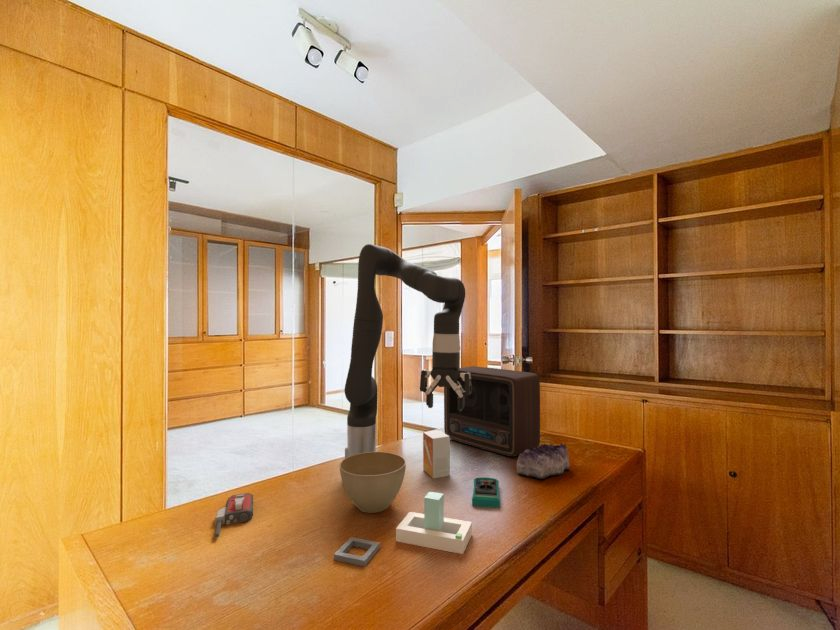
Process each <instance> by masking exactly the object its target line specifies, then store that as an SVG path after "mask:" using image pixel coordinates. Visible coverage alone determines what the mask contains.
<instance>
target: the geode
mask: <svg viewBox="0 0 840 630" xmlns="http://www.w3.org/2000/svg"><path fill="white" fill-rule="evenodd" d="M569 457H570V455H569V452H568V450H567V445H566V443H564V444H563V443H560V444H559V445H558V444H557V445H554V444H551V443H550V444H540V445H539V446H538V447H536V448H533V449H532V448H531V449H529V450H528V449H526V450H525V451H524V453H521V454H519V455H518V459H517V460H516V471H517V474H518V475H522V476H527V477H533V478H535V479H540V480H542V479H546V478H547V477H550V476H561V475H563V474H565V470H570V461H569V460H570V459H569Z"/></svg>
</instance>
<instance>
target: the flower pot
mask: <svg viewBox="0 0 840 630" xmlns="http://www.w3.org/2000/svg"><path fill="white" fill-rule="evenodd" d="M406 462H407V461H406V459H405V458H404V457H403V456H401V455H399V454H398V453H392V452H388V451H387V452H386V451H376V452H365V453H360V454H355V455H352V456H350V457H347V458H345V457H344V459H343V460H341V461H340V463H339V472H340V478H341V482H342V484H343V488H344V490H345V492H346V494H347V496H348V497H349V500H350V501H351V502H352V503H353V504H354V506H355V507H356V508H357V509H358V510H360V511H361V512H363V513H369V514H376V513H381V512H383V511H385V510H387V509H388V508H389V507H390V506H391V504H392V503H393V502H394V501H395V499H396V497H397V496H398V494H399V492H400V490H401V488H402V485H403V482H404V478H405V473H406V465H407V463H406Z"/></svg>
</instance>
